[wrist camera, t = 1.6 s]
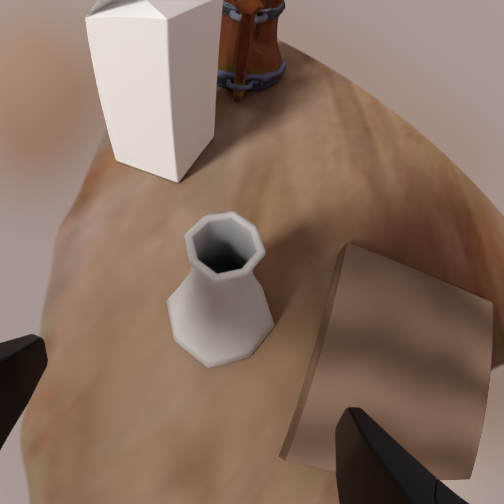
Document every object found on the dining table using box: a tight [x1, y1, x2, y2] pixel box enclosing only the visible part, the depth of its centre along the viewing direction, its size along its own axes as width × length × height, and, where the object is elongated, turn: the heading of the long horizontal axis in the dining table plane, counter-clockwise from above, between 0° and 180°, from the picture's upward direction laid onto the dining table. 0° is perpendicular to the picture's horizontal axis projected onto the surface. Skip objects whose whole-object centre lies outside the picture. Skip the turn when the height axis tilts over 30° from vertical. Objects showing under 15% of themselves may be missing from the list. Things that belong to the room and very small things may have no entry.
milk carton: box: [85, 0, 223, 183], centre depth 20 cm, size 7×7×19 cm
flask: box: [166, 210, 275, 368], centre depth 17 cm, size 7×7×10 cm
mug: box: [217, 0, 286, 101], centre depth 29 cm, size 18×12×15 cm, turn 177°
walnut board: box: [279, 242, 493, 480], centre depth 19 cm, size 16×16×2 cm
